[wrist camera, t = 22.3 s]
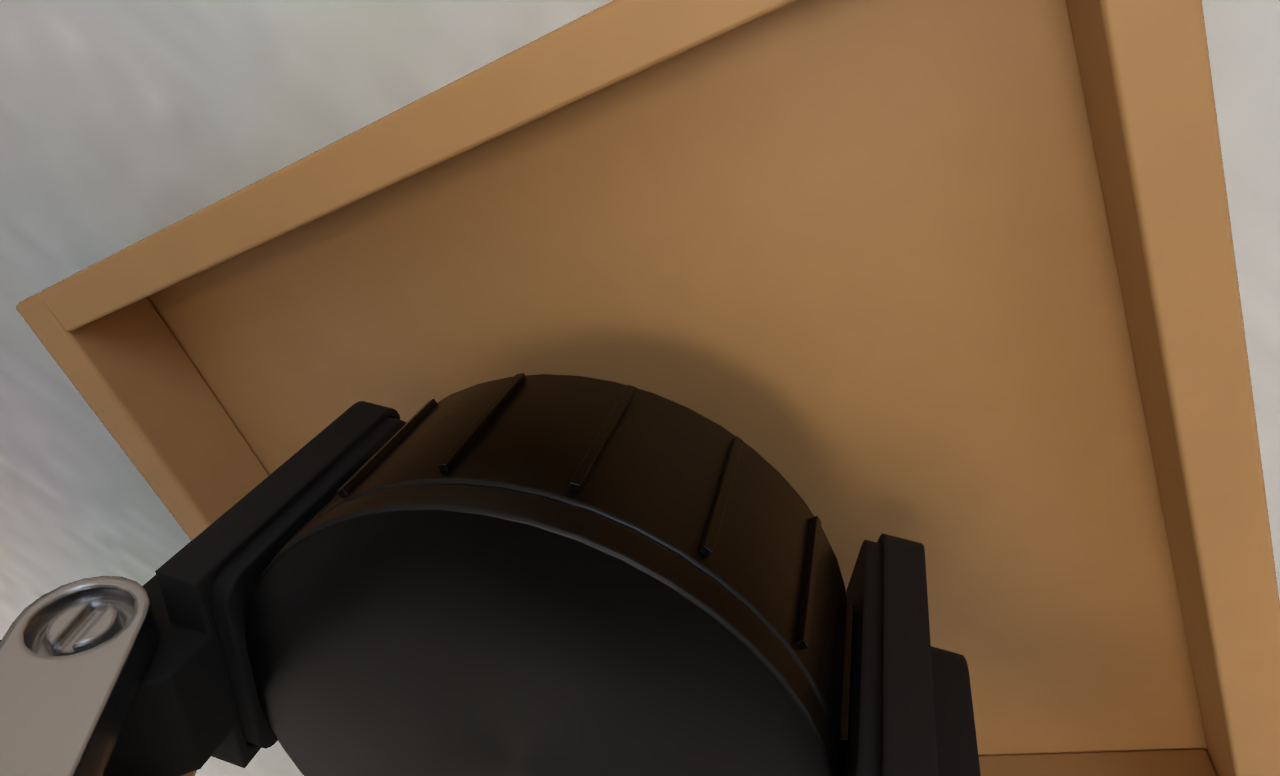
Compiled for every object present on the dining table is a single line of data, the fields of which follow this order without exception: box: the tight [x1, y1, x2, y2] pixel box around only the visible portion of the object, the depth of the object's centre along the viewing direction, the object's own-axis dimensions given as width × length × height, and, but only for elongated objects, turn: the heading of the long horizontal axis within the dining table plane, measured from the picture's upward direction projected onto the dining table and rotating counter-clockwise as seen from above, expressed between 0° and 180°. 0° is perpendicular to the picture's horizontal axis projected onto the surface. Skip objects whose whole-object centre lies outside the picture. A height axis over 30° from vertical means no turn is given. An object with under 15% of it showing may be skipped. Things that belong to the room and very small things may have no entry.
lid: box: [245, 373, 854, 776], centre depth 10 cm, size 7×7×3 cm
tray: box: [16, 0, 1280, 776], centre depth 12 cm, size 15×13×2 cm
